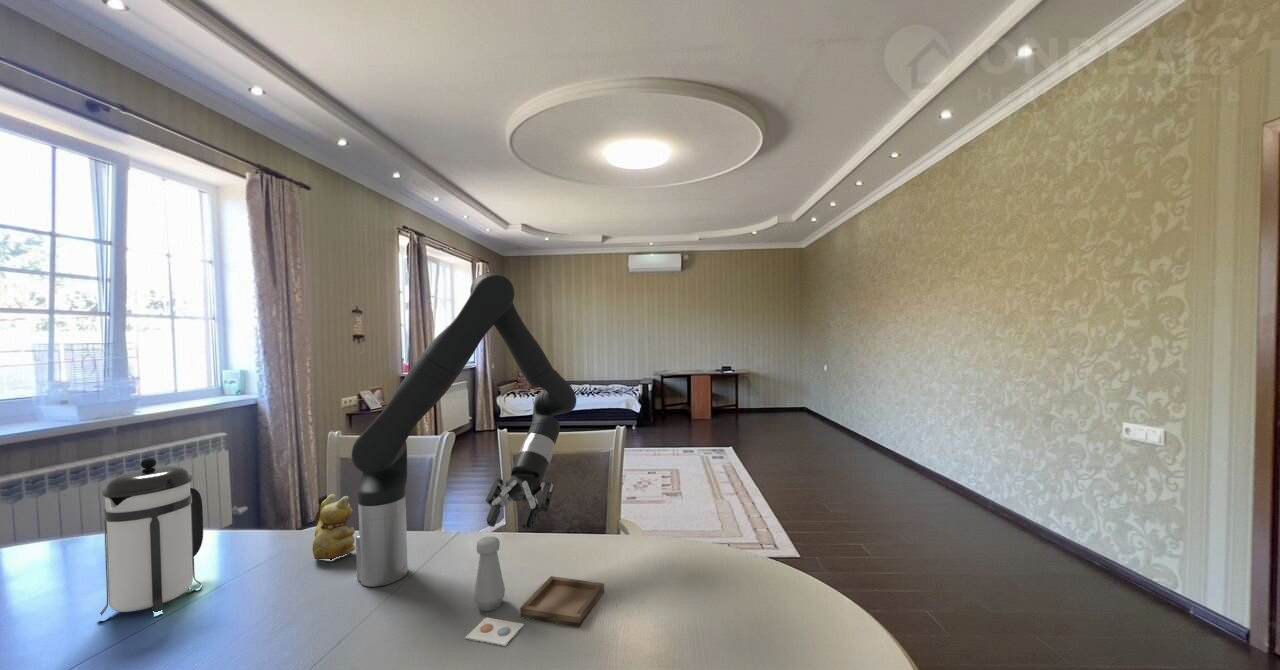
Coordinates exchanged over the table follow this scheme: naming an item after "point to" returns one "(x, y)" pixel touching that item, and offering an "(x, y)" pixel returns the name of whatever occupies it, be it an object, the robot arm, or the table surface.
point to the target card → (494, 631)
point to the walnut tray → (563, 601)
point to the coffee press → (150, 536)
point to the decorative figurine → (333, 529)
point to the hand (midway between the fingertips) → (507, 527)
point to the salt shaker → (489, 575)
